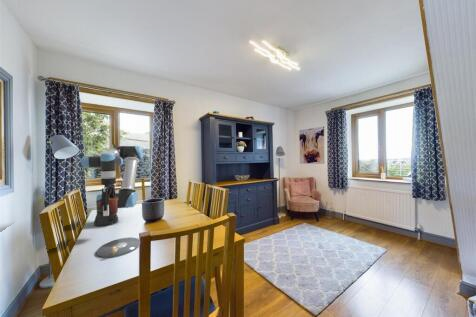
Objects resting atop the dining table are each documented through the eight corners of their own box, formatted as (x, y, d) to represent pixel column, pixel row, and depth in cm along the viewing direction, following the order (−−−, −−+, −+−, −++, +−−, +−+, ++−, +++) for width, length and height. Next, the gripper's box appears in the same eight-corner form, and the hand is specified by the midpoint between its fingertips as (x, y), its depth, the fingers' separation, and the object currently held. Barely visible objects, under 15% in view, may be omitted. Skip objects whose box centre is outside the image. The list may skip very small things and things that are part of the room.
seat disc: (106, 242, 109) (106, 234, 109) (143, 237, 115) (143, 229, 114) (89, 260, 90) (89, 250, 90) (135, 254, 95) (135, 245, 95)
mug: (111, 211, 123) (111, 196, 122) (122, 212, 120) (121, 197, 120) (93, 217, 111) (92, 200, 111) (104, 219, 109) (103, 201, 108)
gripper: (108, 175, 125) (109, 208, 126) (93, 180, 104) (94, 219, 105) (121, 175, 127) (121, 207, 128) (108, 179, 106) (109, 218, 107)
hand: (109, 213), depth 116 cm, fingers closed on mug, 9 cm apart
